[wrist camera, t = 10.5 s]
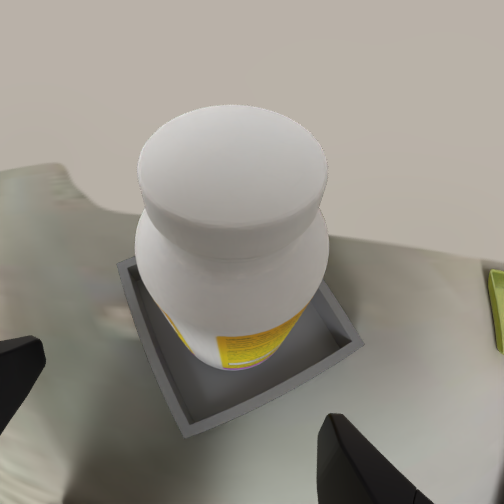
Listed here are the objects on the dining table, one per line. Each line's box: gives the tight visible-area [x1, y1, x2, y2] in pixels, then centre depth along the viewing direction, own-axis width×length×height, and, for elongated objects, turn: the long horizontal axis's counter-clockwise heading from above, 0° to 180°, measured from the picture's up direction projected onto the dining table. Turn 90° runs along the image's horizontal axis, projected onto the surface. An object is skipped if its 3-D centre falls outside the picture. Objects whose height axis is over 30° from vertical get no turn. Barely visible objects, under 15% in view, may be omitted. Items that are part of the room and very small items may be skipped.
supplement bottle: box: [135, 105, 329, 371], centre depth 12 cm, size 7×7×13 cm
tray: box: [117, 256, 365, 439], centre depth 17 cm, size 11×11×3 cm
